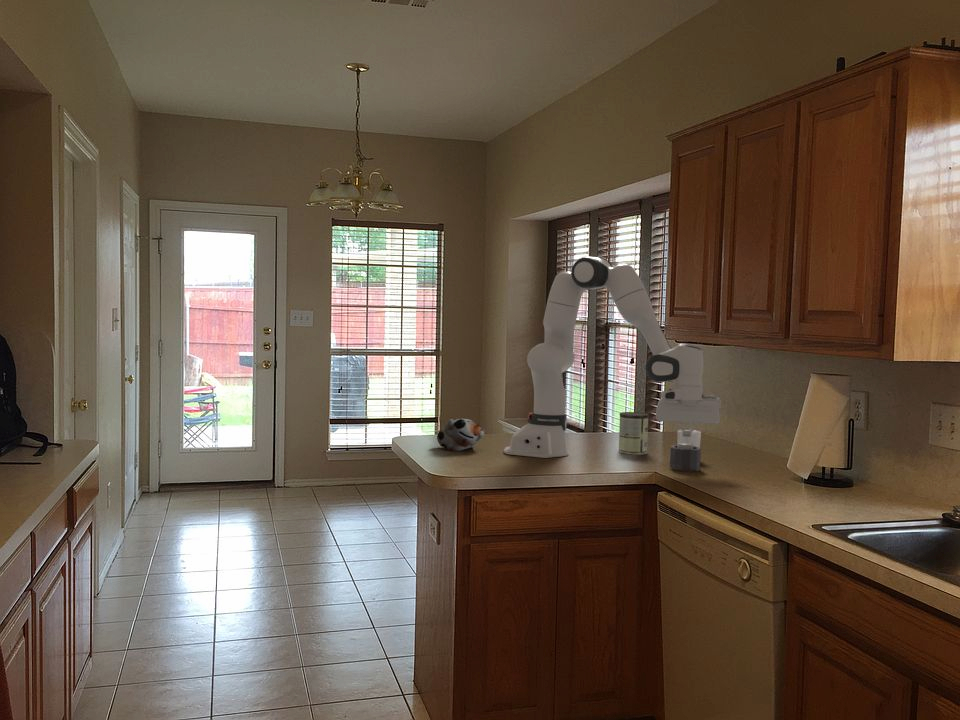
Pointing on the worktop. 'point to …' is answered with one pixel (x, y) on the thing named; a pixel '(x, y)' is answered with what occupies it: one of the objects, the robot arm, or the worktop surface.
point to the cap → (685, 446)
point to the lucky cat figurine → (460, 435)
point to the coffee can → (633, 433)
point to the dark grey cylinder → (685, 458)
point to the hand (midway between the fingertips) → (686, 436)
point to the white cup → (690, 438)
